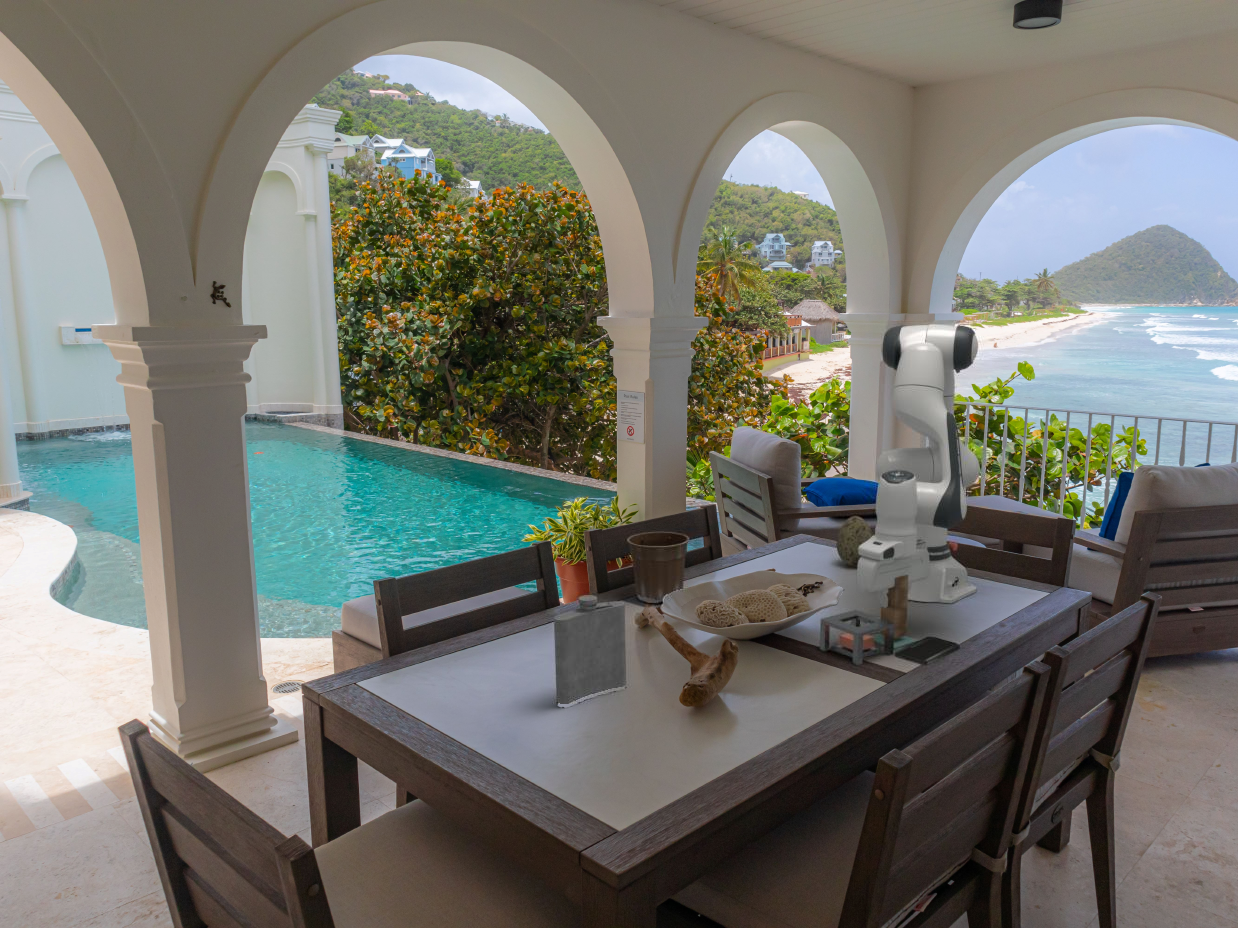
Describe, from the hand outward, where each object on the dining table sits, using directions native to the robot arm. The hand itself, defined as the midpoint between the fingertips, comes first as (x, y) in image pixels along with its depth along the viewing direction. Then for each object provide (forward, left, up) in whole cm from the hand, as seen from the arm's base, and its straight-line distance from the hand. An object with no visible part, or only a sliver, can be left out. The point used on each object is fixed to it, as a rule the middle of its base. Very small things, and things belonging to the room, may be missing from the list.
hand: (893, 604), depth 197 cm
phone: (-1, +9, -9) cm, 13 cm away
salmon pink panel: (+12, 0, -7) cm, 14 cm away
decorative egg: (-39, -47, -9) cm, 62 cm away
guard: (+12, 0, -9) cm, 14 cm away
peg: (0, 0, -7) cm, 7 cm away
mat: (0, 0, -9) cm, 9 cm away
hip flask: (+71, -13, -9) cm, 73 cm away
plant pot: (+25, -56, -9) cm, 62 cm away
